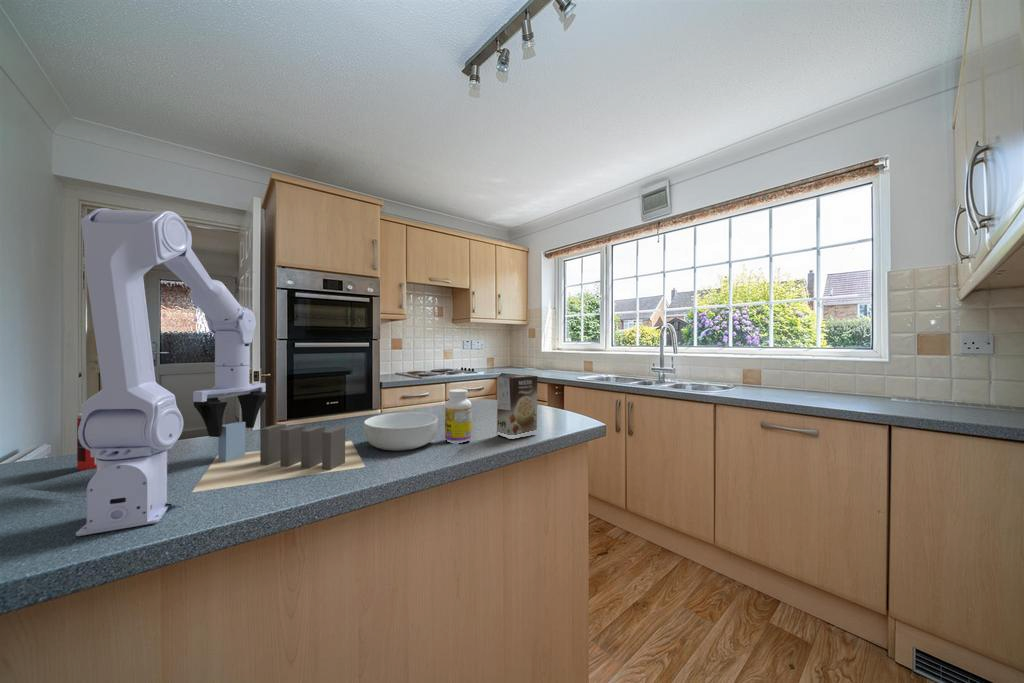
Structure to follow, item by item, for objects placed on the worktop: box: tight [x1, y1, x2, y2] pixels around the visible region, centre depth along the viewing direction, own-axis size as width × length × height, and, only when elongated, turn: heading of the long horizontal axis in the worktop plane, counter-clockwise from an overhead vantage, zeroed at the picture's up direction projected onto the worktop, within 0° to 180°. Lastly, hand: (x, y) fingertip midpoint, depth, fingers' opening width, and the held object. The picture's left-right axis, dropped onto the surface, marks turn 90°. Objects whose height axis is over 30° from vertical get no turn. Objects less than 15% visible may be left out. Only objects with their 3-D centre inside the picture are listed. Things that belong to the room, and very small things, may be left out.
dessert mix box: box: [496, 374, 538, 435], centre depth 103 cm, size 9×6×16 cm
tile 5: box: [322, 426, 346, 470], centre depth 74 cm, size 2×4×7 cm, turn 169°
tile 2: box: [259, 423, 287, 465], centre depth 76 cm, size 2×4×7 cm, turn 169°
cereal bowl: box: [363, 411, 439, 452], centre depth 90 cm, size 17×17×7 cm
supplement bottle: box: [444, 388, 472, 441], centre depth 97 cm, size 7×7×13 cm
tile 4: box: [301, 425, 326, 468], centre depth 75 cm, size 2×4×7 cm, turn 169°
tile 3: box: [280, 424, 306, 467], centre depth 76 cm, size 2×4×7 cm, turn 169°
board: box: [191, 440, 366, 494], centre depth 77 cm, size 22×26×1 cm
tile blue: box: [217, 421, 246, 462], centre depth 78 cm, size 2×4×7 cm, turn 169°
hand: (232, 431), depth 78 cm, fingers open, 7 cm apart
